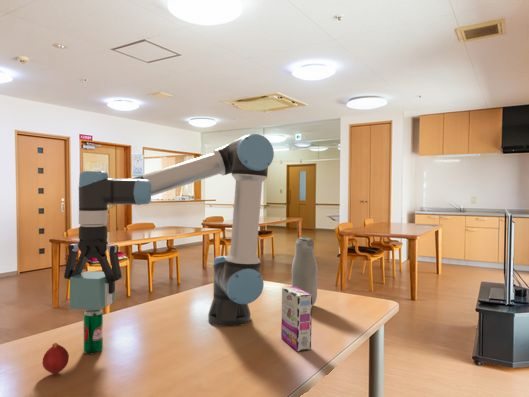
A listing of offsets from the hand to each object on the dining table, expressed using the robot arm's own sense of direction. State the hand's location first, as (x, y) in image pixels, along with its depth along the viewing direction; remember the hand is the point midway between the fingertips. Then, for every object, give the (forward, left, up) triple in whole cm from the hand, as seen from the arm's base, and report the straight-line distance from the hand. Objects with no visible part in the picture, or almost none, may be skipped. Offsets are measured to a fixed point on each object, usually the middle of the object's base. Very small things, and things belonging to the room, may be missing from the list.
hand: (92, 303), depth 110 cm
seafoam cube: (0, 0, 0) cm, 0 cm away
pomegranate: (+2, +14, -14) cm, 20 cm away
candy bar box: (-58, -12, -14) cm, 61 cm away
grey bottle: (-61, -50, -14) cm, 80 cm away
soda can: (0, 0, -14) cm, 14 cm away
